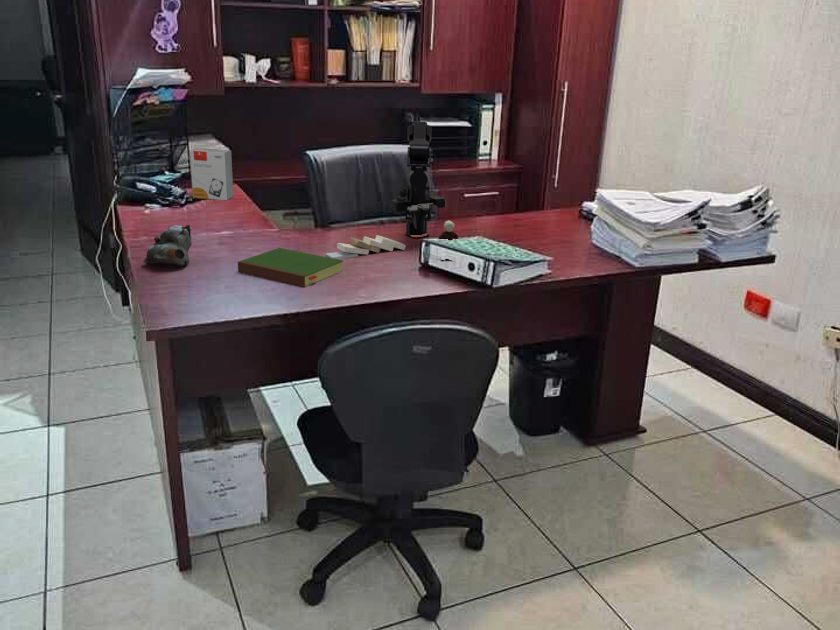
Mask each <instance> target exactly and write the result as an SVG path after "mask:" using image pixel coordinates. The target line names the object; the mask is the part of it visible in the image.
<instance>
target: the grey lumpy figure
mask: <svg viewBox="0 0 840 630" xmlns="http://www.w3.org/2000/svg"><path fill="white" fill-rule="evenodd" d="M190 225H191V224H187V225H186V226H182V225H171V226H169V227H167V229H164V230H163V231H162V233H160V235H159V236H158V235H155V237H154V238H153V240H154V242H155V243H153V245H151V246H149V247H148V250H147V251H146V257H145V258H144V259H142V262H143V263H144V264H147V265H150V263H151V264H168V265H174V266H175V265H177V266H181V265H182V266H181V267H184V266H187V265H188V266H189V263H190V255H189V250H190V248H191V247H192V245H193V241H192V236H191V231H192V230H191V228H190V227H191V226H190ZM188 266H187V267H188Z"/></svg>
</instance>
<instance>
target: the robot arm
mask: <svg viewBox="0 0 840 630" xmlns="http://www.w3.org/2000/svg"><path fill="white" fill-rule="evenodd" d="M432 128H433V127H432V126H431V125H428V122H427V121H424V120H423V121H422V120H420V121H419V120H418V121H417V120H414V121H412V123H411V124H410V125H408V126H407V141H409V145H408V146H407V153H406V154H407V155H406V156H407V157H406V158H407V159H406V161H407V162H406V167H407V168H408V167H409V184H407V187H406V188H407V189H406V188H404V187H403V186H402V187H400V186H399V187H397V188H396V192H395V194H396V197H397V198H398V199H391V200H390V201H389V203H388V208H389V209H390V210H392V211H394V212H397V213H400V212H405V217H404V218H405V220H407V222H406V225H405V226H406V227H405V233H406V234H407V235H406V234H405V235H406V236H408V235H422V234H425V233H427V230H428V221H429V220H431V219H432V206H436V207H437V208H438V209H439V208H440V209H441V208H442V209H443V208H446V207H447V201H446V199H445V198H444V197H441V196H439V195H434V196H433V195H432V196H428V191H429V190H430V186H428V181H429V180H428V168H431V167H432V165H433V161H434V159H433V157H434V151H433V149H432V147H430V142H431V141H432ZM405 200H406V201H405ZM427 234H428V233H427Z"/></svg>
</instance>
